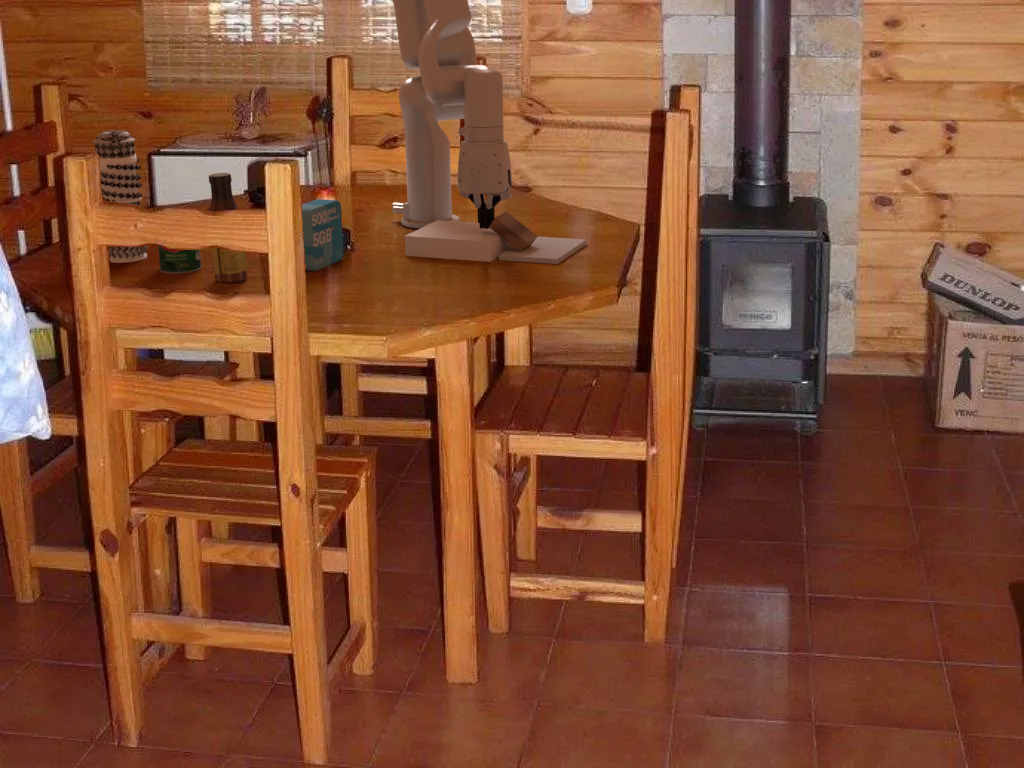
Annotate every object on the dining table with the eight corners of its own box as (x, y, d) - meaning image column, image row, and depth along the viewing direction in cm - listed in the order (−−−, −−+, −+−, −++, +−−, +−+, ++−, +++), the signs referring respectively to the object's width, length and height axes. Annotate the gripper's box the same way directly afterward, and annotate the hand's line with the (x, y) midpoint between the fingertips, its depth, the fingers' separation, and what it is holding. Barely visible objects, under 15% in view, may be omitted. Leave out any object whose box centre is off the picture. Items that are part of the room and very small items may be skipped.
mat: (498, 259, 289) (498, 254, 289) (530, 240, 305) (530, 236, 304) (557, 264, 285) (557, 259, 284) (586, 244, 301) (586, 239, 300)
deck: (405, 255, 294) (404, 235, 292) (438, 239, 308) (437, 220, 307) (490, 261, 287) (489, 241, 286) (519, 244, 302) (519, 225, 300)
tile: (488, 227, 291) (495, 217, 290) (499, 221, 296) (506, 211, 295) (520, 252, 290) (527, 242, 289) (530, 245, 296) (537, 236, 295)
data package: (312, 272, 281) (308, 210, 278) (292, 271, 283) (288, 208, 279) (344, 259, 292) (341, 199, 288) (324, 257, 294) (321, 197, 290)
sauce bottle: (254, 278, 278) (247, 172, 272) (235, 285, 273) (227, 178, 267) (225, 275, 281) (217, 170, 275) (205, 282, 275) (197, 176, 269)
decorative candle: (158, 254, 299) (147, 129, 291) (133, 264, 290) (120, 136, 283) (119, 251, 302) (107, 128, 294) (93, 261, 293) (79, 134, 286)
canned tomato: (166, 275, 281) (160, 218, 278) (155, 267, 288) (150, 211, 284) (206, 270, 284) (202, 214, 281) (195, 262, 291) (190, 207, 288)
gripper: (441, 135, 288) (444, 229, 294) (513, 138, 283) (514, 233, 288) (456, 130, 295) (459, 221, 300) (527, 133, 289) (528, 225, 295)
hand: (486, 227), depth 294 cm, fingers closed
